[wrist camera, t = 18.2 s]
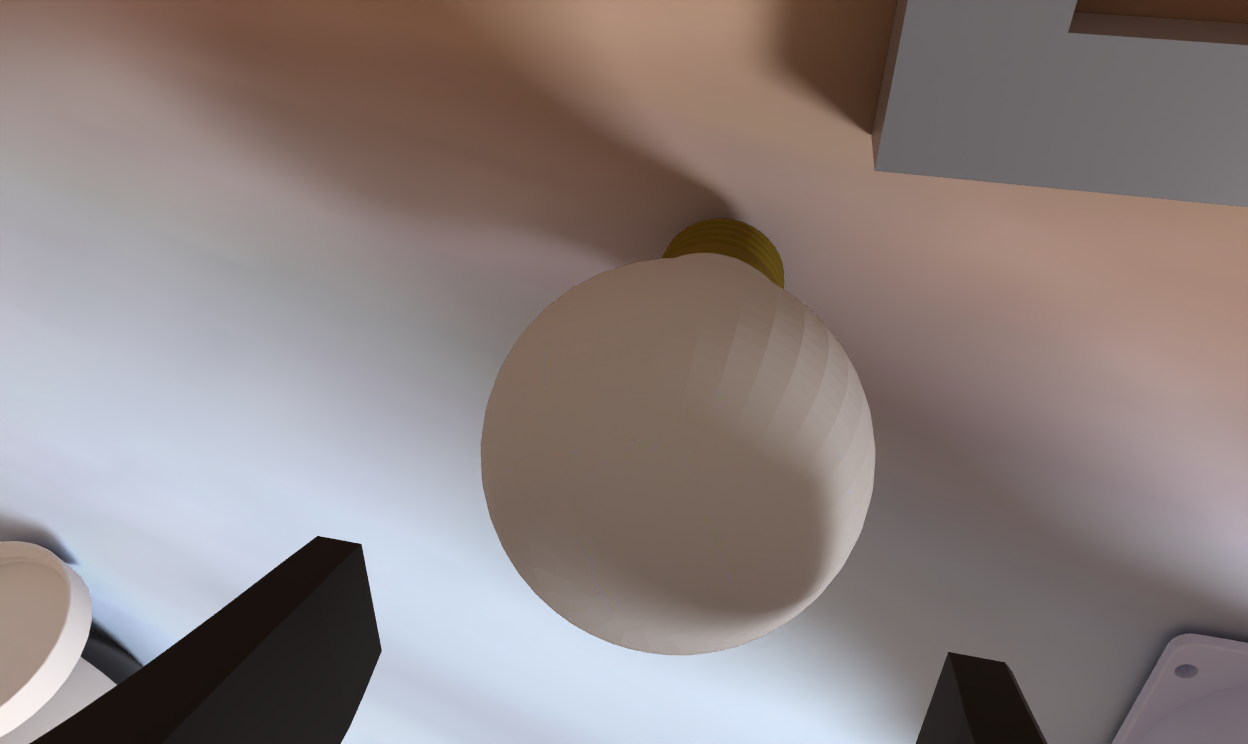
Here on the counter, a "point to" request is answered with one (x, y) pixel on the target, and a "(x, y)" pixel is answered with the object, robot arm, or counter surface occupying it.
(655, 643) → the light bulb
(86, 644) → the spread jar
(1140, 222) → the counter surface
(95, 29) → the counter surface
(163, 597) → the counter surface
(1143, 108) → the grey flat frame
